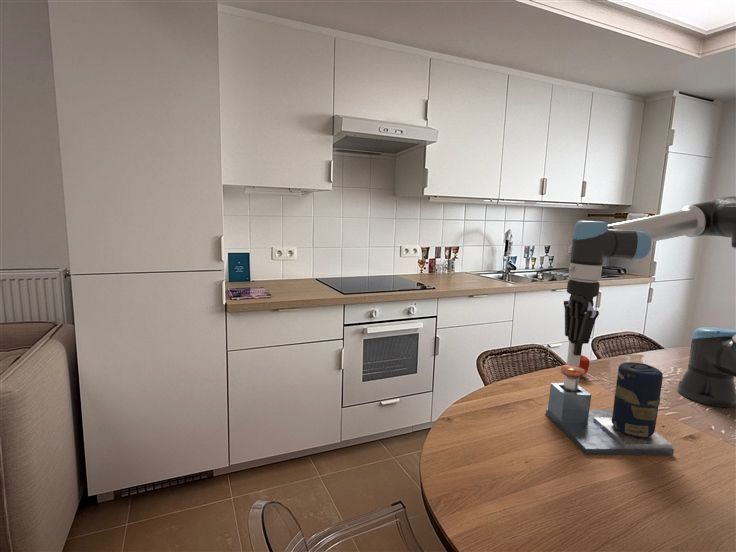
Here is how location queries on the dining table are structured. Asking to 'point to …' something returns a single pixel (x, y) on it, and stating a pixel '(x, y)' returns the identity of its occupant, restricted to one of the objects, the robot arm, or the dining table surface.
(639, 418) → the canister
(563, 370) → the pin
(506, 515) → the dining table surface
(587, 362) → the apple
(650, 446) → the grey l-shaped stand
